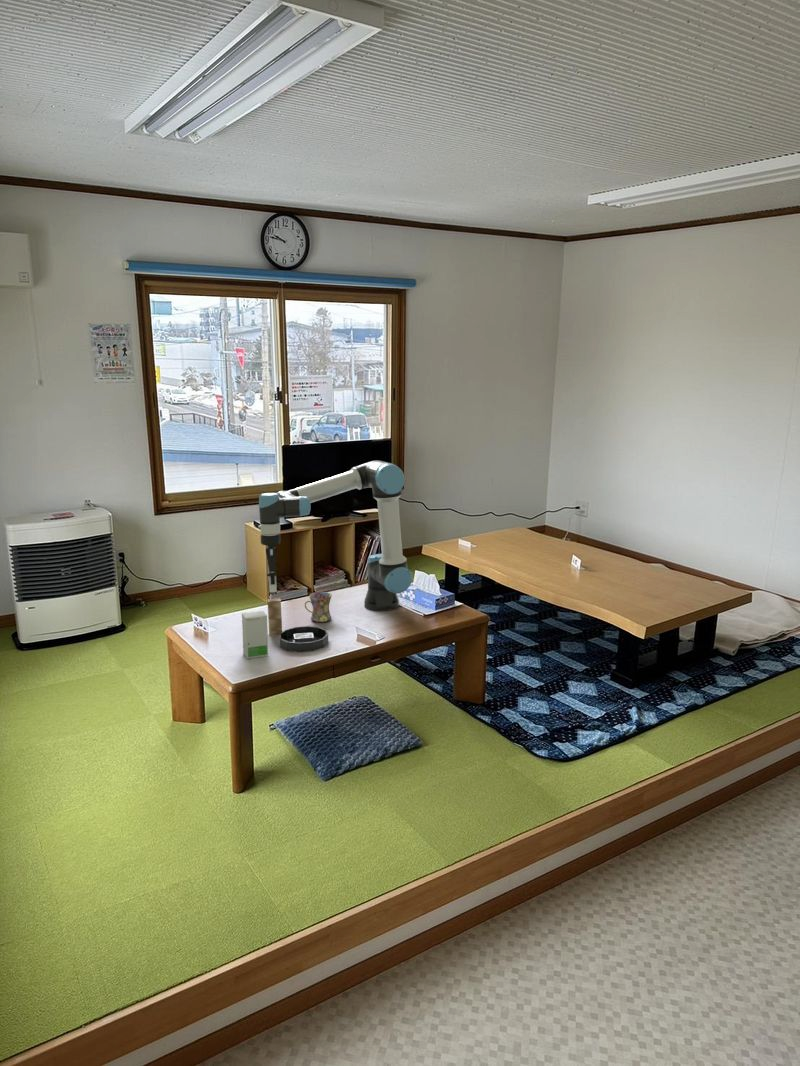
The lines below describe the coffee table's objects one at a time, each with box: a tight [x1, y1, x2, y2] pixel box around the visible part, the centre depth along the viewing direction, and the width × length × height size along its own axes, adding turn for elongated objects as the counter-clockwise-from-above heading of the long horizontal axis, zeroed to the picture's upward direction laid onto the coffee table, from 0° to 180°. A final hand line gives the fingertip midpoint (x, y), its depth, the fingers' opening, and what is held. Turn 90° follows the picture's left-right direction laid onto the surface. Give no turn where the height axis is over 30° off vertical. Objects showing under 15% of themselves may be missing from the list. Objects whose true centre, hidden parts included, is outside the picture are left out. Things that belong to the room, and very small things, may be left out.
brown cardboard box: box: [267, 598, 283, 637], centre depth 293 cm, size 5×3×14 cm, turn 102°
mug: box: [304, 591, 333, 623], centre depth 308 cm, size 12×9×11 cm
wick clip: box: [293, 633, 314, 643], centre depth 284 cm, size 8×5×2 cm
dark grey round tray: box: [278, 625, 329, 653], centre depth 284 cm, size 18×18×4 cm
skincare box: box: [241, 610, 269, 660], centre depth 272 cm, size 8×7×16 cm
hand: (272, 587), depth 291 cm, fingers open, 13 cm apart
